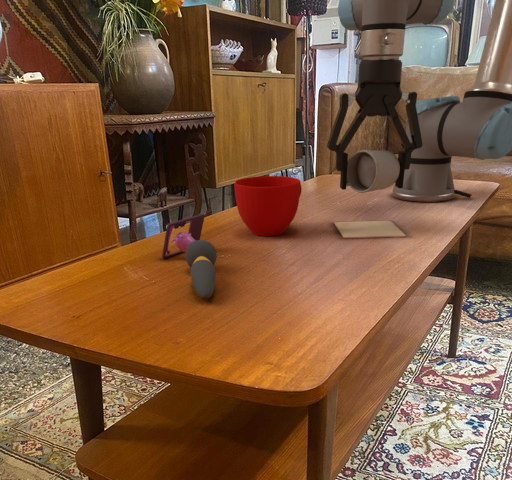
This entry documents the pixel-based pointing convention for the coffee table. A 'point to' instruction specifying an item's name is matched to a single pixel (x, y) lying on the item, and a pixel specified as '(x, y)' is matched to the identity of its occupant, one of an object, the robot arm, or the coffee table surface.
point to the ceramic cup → (267, 203)
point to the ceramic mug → (372, 170)
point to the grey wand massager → (202, 267)
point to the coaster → (368, 229)
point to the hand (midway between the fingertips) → (370, 187)
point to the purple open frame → (183, 234)
